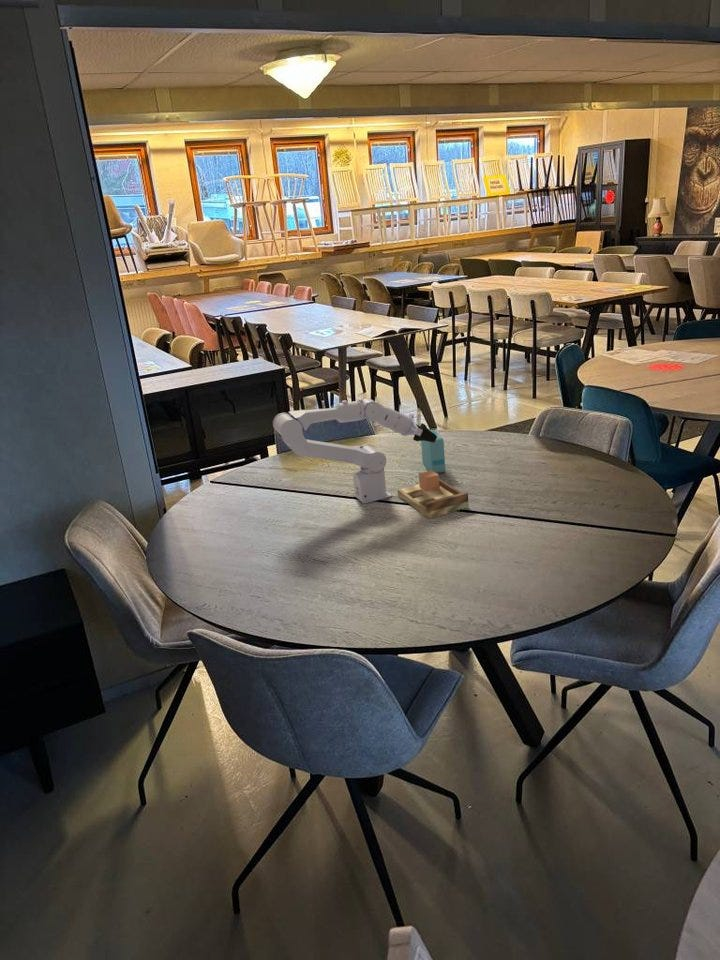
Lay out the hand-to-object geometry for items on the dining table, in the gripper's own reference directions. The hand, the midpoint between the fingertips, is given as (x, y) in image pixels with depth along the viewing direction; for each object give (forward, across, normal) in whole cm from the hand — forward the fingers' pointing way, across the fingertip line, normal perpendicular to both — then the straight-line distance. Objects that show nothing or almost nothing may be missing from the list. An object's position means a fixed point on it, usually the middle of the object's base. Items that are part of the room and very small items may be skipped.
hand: (429, 436), depth 209 cm
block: (+3, -8, +14) cm, 16 cm away
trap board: (+2, -13, +17) cm, 22 cm away
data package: (+13, +11, +10) cm, 20 cm away
